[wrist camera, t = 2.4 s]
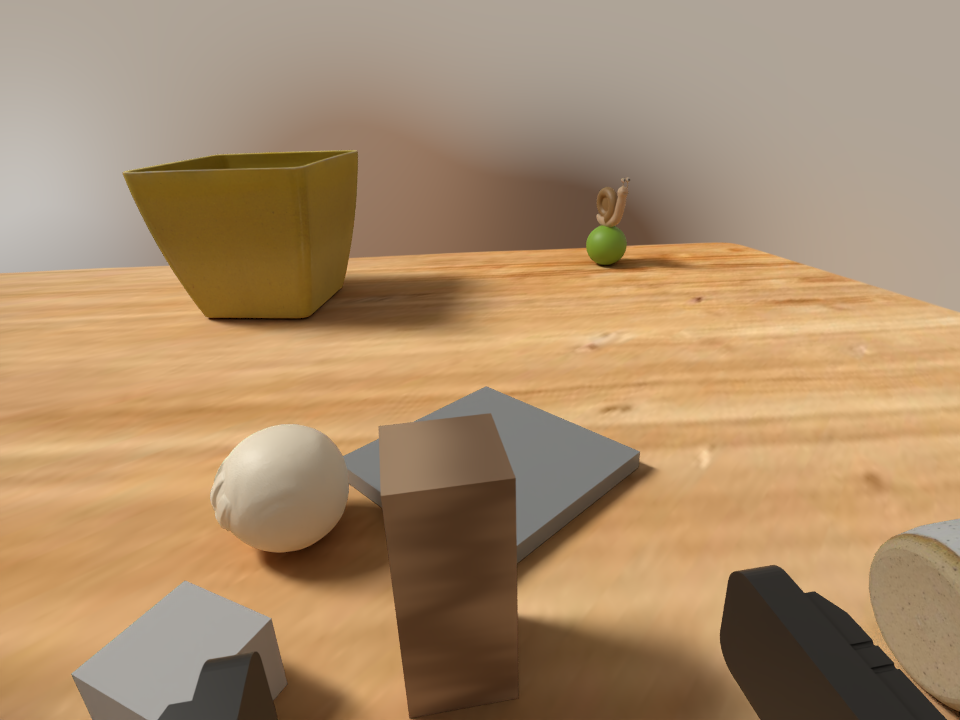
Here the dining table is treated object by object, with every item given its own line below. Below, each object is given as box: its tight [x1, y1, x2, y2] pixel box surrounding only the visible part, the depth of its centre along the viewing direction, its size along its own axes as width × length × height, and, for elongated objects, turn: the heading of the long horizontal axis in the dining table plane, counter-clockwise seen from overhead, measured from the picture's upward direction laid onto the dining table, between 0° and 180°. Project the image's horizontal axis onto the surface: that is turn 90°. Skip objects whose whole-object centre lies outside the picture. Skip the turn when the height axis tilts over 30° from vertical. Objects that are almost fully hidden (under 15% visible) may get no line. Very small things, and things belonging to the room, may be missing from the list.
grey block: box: [71, 581, 287, 720], centre depth 24 cm, size 5×5×4 cm
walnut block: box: [379, 413, 519, 718], centre depth 24 cm, size 4×4×11 cm
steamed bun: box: [210, 424, 349, 553], centre depth 33 cm, size 7×7×7 cm
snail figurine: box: [586, 178, 630, 265], centre depth 80 cm, size 5×6×12 cm
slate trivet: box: [343, 387, 640, 563], centre depth 39 cm, size 14×14×1 cm
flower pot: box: [123, 150, 358, 318], centre depth 69 cm, size 19×19×17 cm
